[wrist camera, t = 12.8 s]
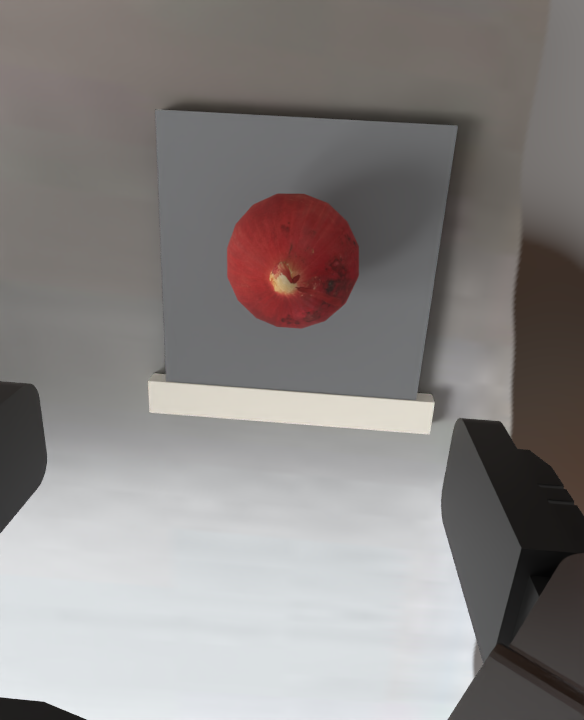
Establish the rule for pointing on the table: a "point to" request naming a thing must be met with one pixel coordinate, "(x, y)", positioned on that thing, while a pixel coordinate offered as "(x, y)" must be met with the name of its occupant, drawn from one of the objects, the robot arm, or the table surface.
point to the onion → (292, 260)
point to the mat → (348, 324)
